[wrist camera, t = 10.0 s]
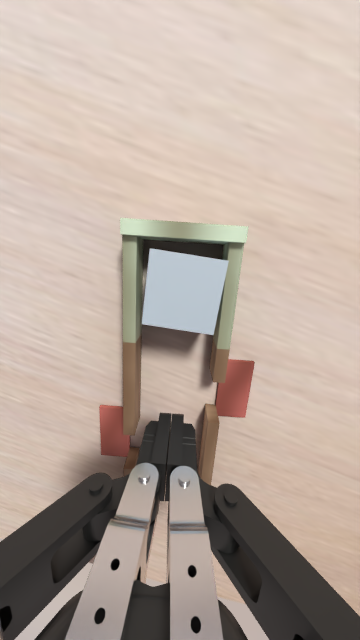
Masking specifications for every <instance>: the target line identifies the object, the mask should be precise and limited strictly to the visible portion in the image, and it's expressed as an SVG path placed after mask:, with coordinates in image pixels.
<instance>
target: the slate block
mask: <svg viewBox="0 0 360 640" xmlns="http://www.w3.org/2000/svg"><path fill="white" fill-rule="evenodd" d="M228 262H229V261H227V260H220V259H214V258H208V257H202V256H195V255H189V254H183V253H177V252H170V251H164V250H158V249H151V248H150V252H149V261H148V270H147V279H146V288H145V298H144V307H143V316H142V324H144V325H151V326H157V327H164V328H170V329H177V330H183V331H190V332H196V333H203V334H209V335H214V330H215V325H216V320H217V315H218V310H219V306H220V301H221V296H222V291H223V286H224V281H225V277H226V272H227V267H228Z"/></svg>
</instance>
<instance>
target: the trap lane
mask: <svg viewBox="0 0 360 640" xmlns="http://www.w3.org/2000/svg"><path fill="white" fill-rule="evenodd" d="M247 233H248V227H247V226H232V225H218V224H203V223H188V222H173V221H159V220H144V219H129V218H120V234H122V246H123V407H120V406H107V405H100V407H99V408H100V433H101V455H109V456H123V457H127V459H126V462H125V466H124V476H126V475H128V474H129V473H131V471H132V469H133V468H134V467H135V466H136V464H137V460H138V456H139V448H135V447H130V435H135V432H136V428H137V425H138V421H139V418H140V389H141V339H142V288H143V239H145V240H159V241H174V242H188V243H203V244H218V245H224V246H223V255H222V260H227V261H229V262H228V267H227V272H226V277H225V281H224V286H223V291H222V296H221V301H220V306H219V310H218V315H217V320H216V325H215V330H214V335H213V342H212V351H211V360H210V372H211V376H212V380H213V382H218V389H217V397H216V405H211V404H205V412H204V421H203V430H202V439H201V447H200V456H199V465H198V474H199V476H200V478H201V479H202V480H203V481H204V482H206V483H207V484H209V485H211V480H212V473H213V466H214V458H215V451H216V444H217V437H218V429H219V419H218V416H230V417H244V418H245V415H246V409H247V403H248V397H249V392H250V386H251V380H252V374H253V369H254V363H255V362H254V361H245V360H231V359H228V357H229V350H230V342H231V335H232V328H233V321H234V313H235V306H236V299H237V292H238V284H239V277H240V270H241V263H242V255H243V248H244V243H246V240H247Z"/></svg>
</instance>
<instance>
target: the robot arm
mask: <svg viewBox="0 0 360 640" xmlns="http://www.w3.org/2000/svg"><path fill="white" fill-rule="evenodd" d="M183 419H184V414H172V422H171V413H160V416H159V421H150V423H149V424H148V425H147V426H146V429H145V432H144V436H143V441H142V444H141V448H140V452H139V456H138V460H137V464H136V466H135V467H134V468H133V469H132V471H131V473H129V474H128V475H126V476H124V477H122V478H118V479H114V480H111V478H110V476H108V475H107V474H105V473H96V474H93V475H91V476H90V477H88V478H87V479H85V480H84V481H83V482H81V483H80V484H79V485H77V486H76V487H74V488H73V489H72V490H70V491H69V492H68V493H66V494H65V495H64V496H62V497H61V498H60V499H58V500H57V501H55V502H54V503H53V504H51V505H50V506H49V507H47V508H46V509H45V510H43V511H42V512H40V513H39V514H38V515H36V516H35V517H34V518H32V519H31V520H30V521H28V522H27V523H26V524H24V525H23V526H21V527H20V528H19V529H17V530H16V531H15V532H13V533H12V534H11V535H9V536H8V537H6V538H5V539H4V540H2V541H1V542H0V640H14V639H15V638H16V637H17V636H18V635H19V634H20V633H21V632H22V631H23V630H24V629H25V628H26V627H27V626H28V625H29V624H30V622H31V621H32V620H33V619H34V618H35V617H36V616H37V615H38V614H39V613H40V612H41V611H42V610H43V609H44V608H45V607H46V606H47V605H48V604H49V603H50V602H51V600H52V599H53V598H54V597H55V596H56V595H57V594H58V593H59V592H60V591H61V590H62V589H63V588H64V587H65V586H66V585H67V584H68V583H69V582H70V581H71V580H72V578H74V577H75V576H76V574H77V573H78V572H79V571H80V570H81V569H82V568H83V567H84V566H85V565H86V564H87V563H88V562H89V561H90V560H91V559H92V558H93V557H94V556H95V555H96V554H97V555H96V557H95V560H94V563H93V565H92V568H91V571H90V574H89V576H88V579H87V582H86V584H85V587H84V590H82V591H81V592H79V593H78V594H76V595H75V596H74V597H73V598H72V599H70V600H69V601H68V602H67V603H66V604H65V605H64V606H63V607H62V608H61V610H60V611H59V612H58V613H57V614H56V615H55V616H54V618H53V619H52V620H51V621H50V622H49V623H48V625H47V626H46V627H45V628H44V629H43V630H42V632H41V633H40V634H39V635H38V636H37V637H36V639H35V640H248V639H247V637H246V636H245V634H244V632H243V630H242V628H241V627H240V625H239V624H238V622H237V620H236V619H235V617H234V616H233V615H232V613H231V612H230V611H229V610H228V609H227V607H226V606H225V605H224V604H223V603H222V602H221V601H219V600H218V598H217V590H216V583H215V576H214V569H213V562H212V554H211V550H212V552H213V554H214V556H215V557H216V559H217V560H218V562H219V563H220V565H221V566H222V568H223V569H224V571H225V572H226V574H227V575H228V577H229V579H230V580H231V582H232V583H233V585H234V586H235V588H236V589H237V591H238V592H239V594H240V595H241V597H242V598H243V600H244V601H245V603H246V605H247V606H248V608H249V609H250V611H251V612H252V614H253V615H254V616H255V618H256V620H257V621H258V623H259V624H260V626H261V627H262V629H263V630H264V632H265V634H266V635H267V637H268V638H269V640H360V616H359V615H358V614H357V613H356V612H355V611H354V610H353V609H352V608H351V607H350V606H349V605H348V604H347V603H346V602H345V600H344V599H343V598H342V597H341V596H340V595H339V594H338V593H337V592H336V591H335V590H334V589H333V588H332V587H331V586H330V585H329V584H328V582H327V581H326V580H325V579H324V578H323V577H322V576H321V575H320V574H319V573H318V572H317V571H316V570H315V569H314V568H313V567H312V565H311V564H310V563H309V562H308V561H307V560H306V559H305V558H304V557H303V556H302V555H301V554H300V553H299V552H298V551H297V550H296V549H295V547H294V546H293V545H292V544H291V543H290V542H289V541H288V540H287V539H286V538H285V537H284V536H283V535H282V534H281V533H280V532H279V531H278V529H277V528H276V527H275V526H274V525H273V524H272V523H271V522H270V521H269V520H268V519H267V518H266V517H265V516H264V515H263V514H262V513H261V511H260V510H259V509H258V508H257V507H256V506H255V505H254V504H253V503H252V502H251V501H250V500H249V499H248V498H247V497H246V496H245V494H244V493H243V492H242V491H241V490H240V489H239V488H237V487H236V486H234V485H232V484H222V485H220V486H219V487H218V488H216V487H213V486H211V485H209V484H207V483H206V482H204V481H203V480H202V479H201V478H200V476H199V474H198V471H197V460H196V439H195V429H194V427H193V426H192V424H186V423H183ZM170 431H171V432H170ZM166 474H167V476H166ZM165 484H166V494H165ZM164 494H165V501H169V503H168V519H167V577H166V584H163V585H160V586H156V587H151V586H149V585H146V584H145V583H146V574H147V568H148V562H149V557H150V552H151V546H152V541H153V536H154V530H155V525H156V520H157V514H158V510H159V501H164Z"/></svg>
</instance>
